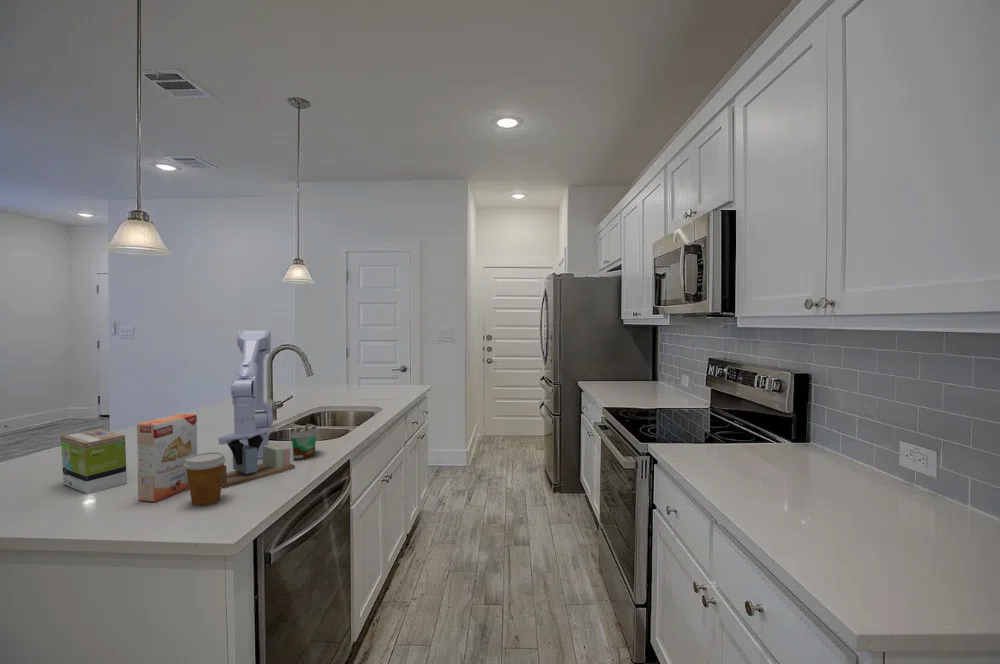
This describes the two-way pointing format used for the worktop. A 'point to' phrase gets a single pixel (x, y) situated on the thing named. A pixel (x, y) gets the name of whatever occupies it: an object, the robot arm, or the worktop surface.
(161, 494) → the cracker box
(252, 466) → the grey rectangular block
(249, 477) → the shelf
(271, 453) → the book row
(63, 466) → the tea box
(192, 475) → the disposable coffee cup
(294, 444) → the food container
